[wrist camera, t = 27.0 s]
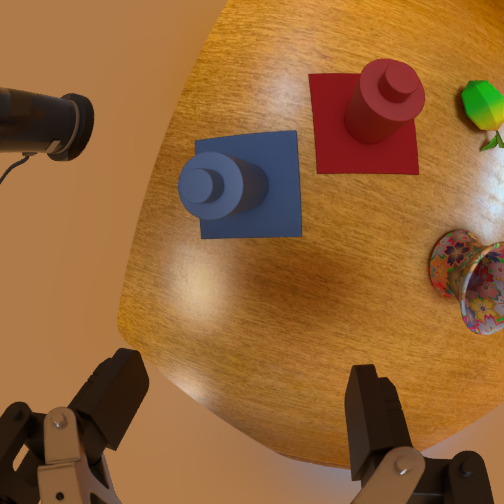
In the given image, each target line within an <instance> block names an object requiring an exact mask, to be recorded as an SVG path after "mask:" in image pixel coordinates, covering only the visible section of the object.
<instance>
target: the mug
mask: <svg viewBox="0 0 504 504" xmlns="http://www.w3.org/2000/svg"><path fill="white" fill-rule="evenodd" d="M430 277H431V281H432V283H433V285H434V287H435V289H436V290H437V291H438V292H439V293H440V294H442V295H443V296H446V297H450V298H456V299H457V300H458V301H459V303H460V308H461V314H462V318H463V320H464V322H465V324H466V326H467V327H468V328H469V329H470V330H471V331H472V332H474V333H476V334H480V335H489V334H493V333H495V332H498V331H499V330H501V329H502V328H504V242H497V243H494V244H492V245H490V246H483V245H481V243H480V241H479V240H478V238H477V237H476V236H475V235H474V234H472V233H471V232H469V231H465V230H457V231H453V232H450V233H449V234H447V235H446V236H444V237H443V238H442V239H441V240H440V241H439V243H438V244H437V245H436V247H435V249H434V251H433V254H432V257H431V261H430Z"/></svg>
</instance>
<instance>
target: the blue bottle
mask: <svg viewBox="0 0 504 504" xmlns="http://www.w3.org/2000/svg"><path fill="white" fill-rule="evenodd" d="M178 191H179V196H180V199H181V201H182V203H183V205H184V206H185V208H186V209H187V210H188V211H189V212H190V213H191V214H192V215H194V216H195V217H197V218H200V219H203V220H218V219H221V218H224V217H227V216H230V215H233V214H236V213H239V212H241V211H244V210H247V209H250V208H253V207H256V206H258V205H259V204H261V203H262V202H263V201H264V199H265V198H266V196H267V194H268V191H269V181H268V178H267V175H266V173H265V172H264V171H263V170H262V169H261V168H260V167H259V166H257V165H255V164H252V163H249V162H246V161H244V160H241V159H238V158H235V157H232V156H229V155H226V154H224V153H221V152H216V151H207V152H203V153H200V154H198V155H196V156H194V157H193V158H191V159H190V160H189V161H188V162H187V163H186V164H185V166H184V167H183V169H182V171H181V174H180V177H179V182H178Z"/></svg>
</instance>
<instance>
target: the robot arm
mask: <svg viewBox="0 0 504 504" xmlns="http://www.w3.org/2000/svg"><path fill="white" fill-rule="evenodd" d="M79 123H80V112H79V108H78V105H77V104H76V103H75V102H74V101H72V100H68V99H61V98H56V97H52V96H47V95H43V94H38V93H32V92H27V91H21V90H15V89H9V88H1V87H0V152H22V155H23V156H26V157H25V158H24V159H22V160H20V161H18V162H16V163H14V164H13V165H11V166H10V167H9V168H8V169H7V170H6V172H5V173H4V174H3V176H2V177H1V179H0V184H1V182H2V181H3V180H4V178H5V177H6V175H7V174H8V173H9V172H10V171H11V170H12V169H13V168H15V167H16V166H18V165H21V164H23V163H24V162H26V161H27V160H28V159H29V156H33V155H35V154H37V153H38V152H40V153H53V154H60V153H63V152H64V151H66V150H67V149H68V148H69V147H70V146H71V144H72V143H73V141H74V139H75V137H76V135H77V132H78V128H79ZM148 388H149V377H148V374H147V372H146V369H145V366H144V363H143V360H142V357H141V354H140V352H139V351H137V350H131V349H126V348H120V349H118V350H117V351H116V353H115V354H114V355H113V357H112V358H108V359H106V360H105V361H104V362H102V363H101V364H99V365H98V367H97V368H96V369H95V371H94V372H93V375H91V376H90V377H89V379H88V381H87V382H85V384H84V385H83V386H82V388H81V389H80V390H79V392H78V393H77V395H76V396H75V397H74V399H73V400H72V401H71V403H70V404H69V405H68V407H58V408H54V409H52V410H51V411H50V412H49V413H48V414H42V413H35V412H32V410H31V409H30V408H29V406H28V405H27V404H26V403H24V402H15V403H13V404H11V405H10V406H9V407H8V408H7V409H6V410H5V412H4V413H3V415H2V416H1V417H0V504H38V503H39V501H40V499H41V504H122V503H121V501H120V500H119V498H118V497H117V495H116V493H115V491H114V488H113V484H112V481H111V478H110V474H109V471H108V466H107V463H106V459H105V455H104V453H103V451H104V449H105V447H106V448H109V449H112V450H115V451H116V450H117V448H118V446H119V444H120V442H121V440H122V438H123V436H124V434H125V433H126V430H127V429H128V427H129V425H130V423H131V421H132V419H133V417H134V415H135V413H136V412H137V409H138V408H139V406H140V404H141V402H142V401H143V399H144V397H145V395H146V393H147V391H148ZM401 408H402V407H401V404H400V400H399V397H398V394H397V391H396V388H395V386H394V385H393V384H392V383H391V381H390V380H389V379H388V378H387V377H382V378H378V376H377V373H376V369H375V366H374V365H373V364H366V365H353V366H352V369H351V373H350V377H349V381H348V385H347V389H346V393H345V415H346V423H347V432H348V442H349V452H350V464H351V476H352V481H358V480H361V487H362V489H361V490H360V492H359V493H358V494H357V496H356V497H355V498H354V499H353V501H352V502H351V503H350V504H494V501H493V496H492V491H491V487H490V482H489V478H488V474H487V470H486V467H485V463H484V460H483V459H482V457H481V456H480V455H479V454H478V453H476V452H473V451H462V452H460V453H458V454H457V455H455V456H454V457H453V459H432V458H427V457H424V456H423V455H422V454H421V453H420V452H419V451H418V450H416V449H414V447H413V446H412V443H411V439H410V436H409V432H408V428H407V425H406V421H405V417H404V414H403V411H402V410H401ZM23 444H25V445H26V446H27V447H28V449H29V451H28V452H27V454H26V456H25V457H24V459H23V461H22V462H21V464H20V466H19V468H18V469H17V471H14V469H13V461H14V459H15V457H16V456H17V454H18V453H19V451H20V449H21V448H22V446H23Z"/></svg>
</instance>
